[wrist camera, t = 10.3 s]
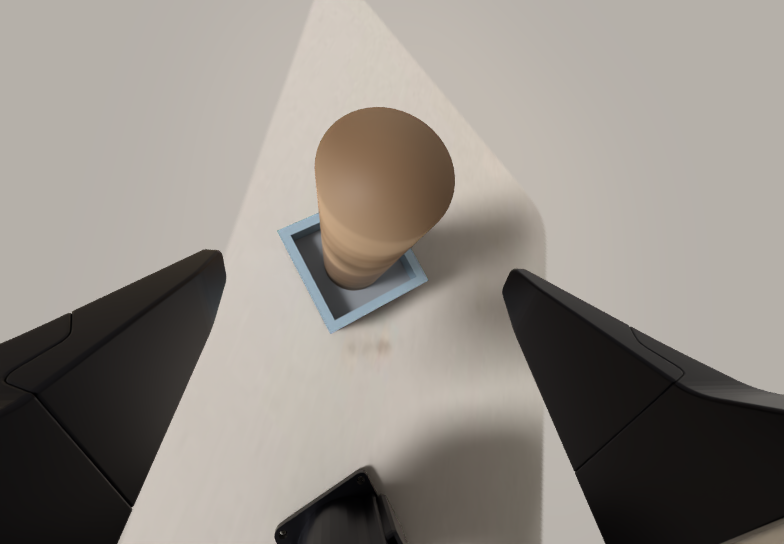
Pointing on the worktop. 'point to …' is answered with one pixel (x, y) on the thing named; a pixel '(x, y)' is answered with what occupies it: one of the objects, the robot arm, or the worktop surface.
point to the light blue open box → (333, 300)
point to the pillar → (378, 191)
